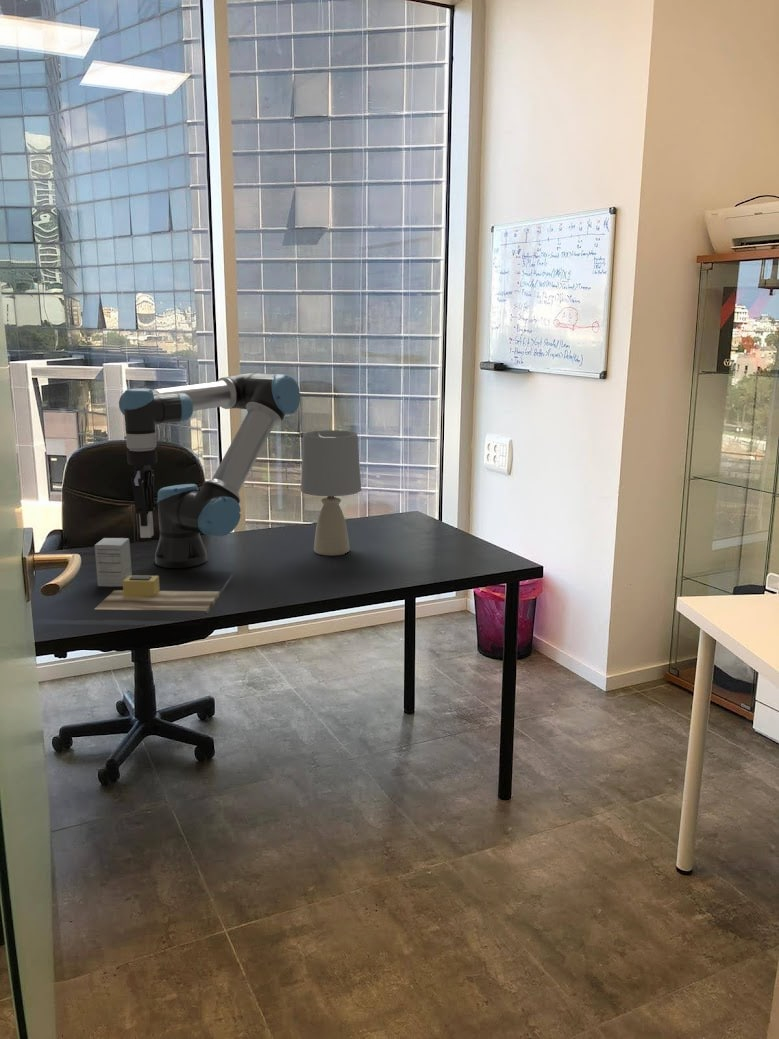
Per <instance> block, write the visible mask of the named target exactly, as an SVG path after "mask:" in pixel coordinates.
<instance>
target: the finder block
mask: <svg viewBox="0 0 779 1039" xmlns="http://www.w3.org/2000/svg"><path fill="white" fill-rule="evenodd" d="M122 590H123V594H124V596H155V595H156V594H157V593H158V592H159V591H161V589H160V576H159V575H133V574H132V575H129V576H128V577H126V578H125V579H124V580H123V586H122Z"/></svg>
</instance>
